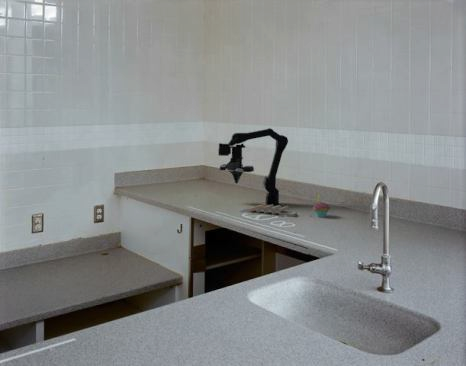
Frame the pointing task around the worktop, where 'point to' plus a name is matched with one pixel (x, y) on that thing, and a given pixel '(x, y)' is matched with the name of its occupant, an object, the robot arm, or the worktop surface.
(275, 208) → the domino
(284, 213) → the domino
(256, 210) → the domino
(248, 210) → the mat
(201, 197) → the worktop surface
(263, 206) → the domino
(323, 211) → the cupcake
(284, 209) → the domino
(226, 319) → the worktop surface
